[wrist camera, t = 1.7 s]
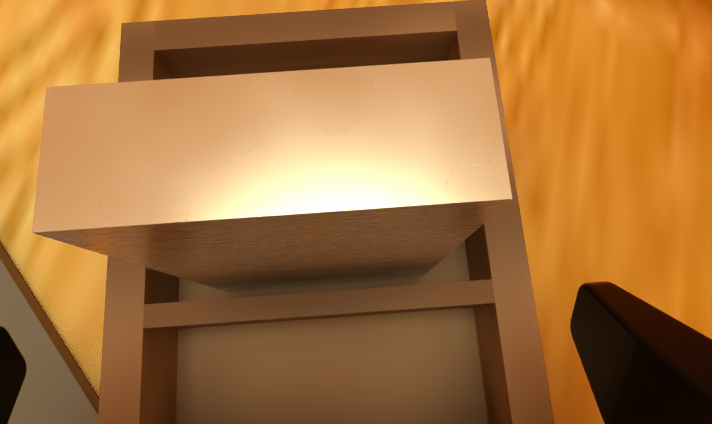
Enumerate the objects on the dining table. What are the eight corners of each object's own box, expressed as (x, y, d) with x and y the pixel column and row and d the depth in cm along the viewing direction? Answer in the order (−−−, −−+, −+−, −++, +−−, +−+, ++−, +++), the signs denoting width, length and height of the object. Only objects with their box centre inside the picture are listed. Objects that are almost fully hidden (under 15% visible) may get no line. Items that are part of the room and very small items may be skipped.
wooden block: (421, 278, 15) (512, 199, 6) (227, 291, 15) (31, 232, 6) (414, 215, 15) (489, 57, 6) (227, 228, 15) (47, 87, 6)
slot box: (504, 461, 16) (569, 519, 11) (173, 487, 16) (89, 557, 11) (453, 83, 19) (485, -1, 14) (182, 101, 19) (121, 23, 14)
